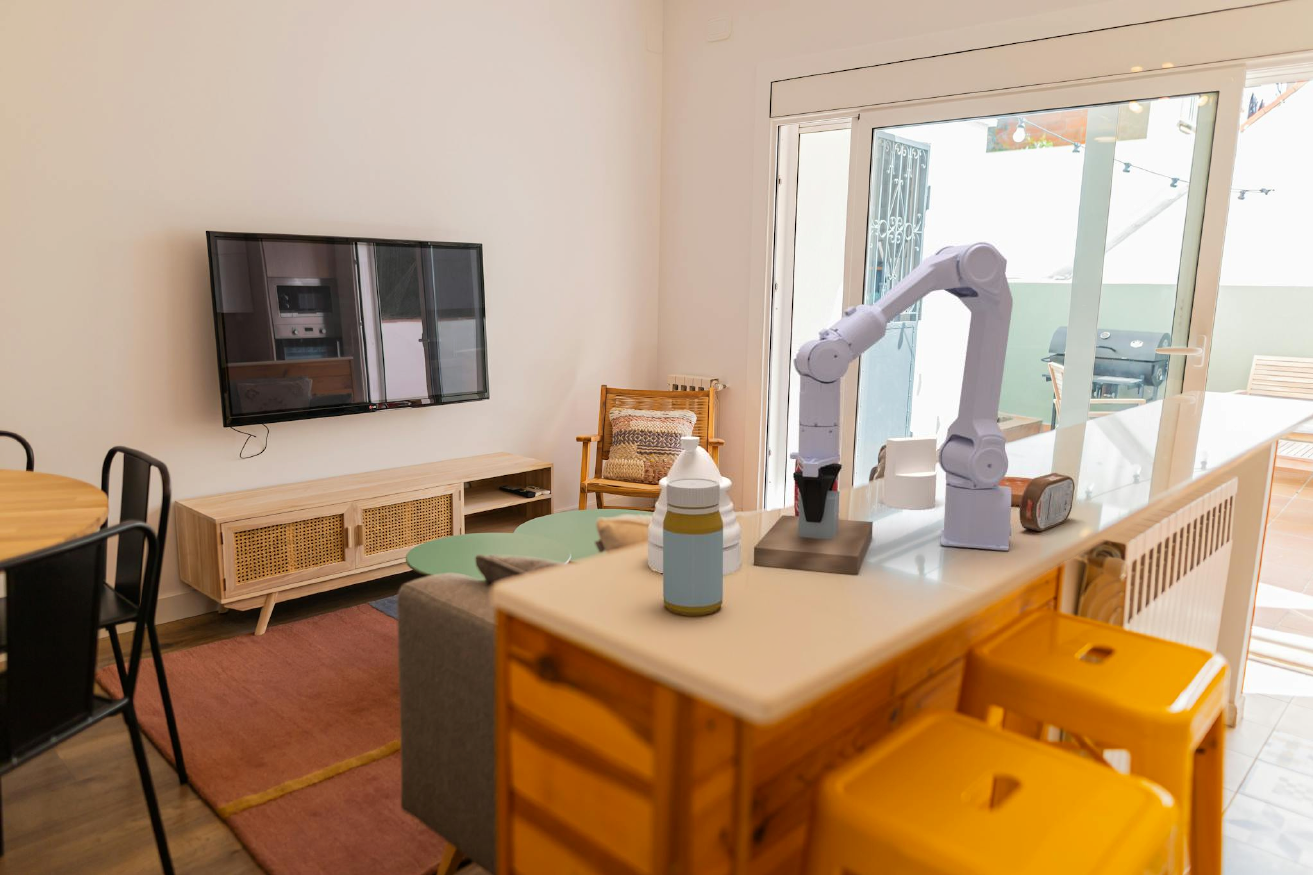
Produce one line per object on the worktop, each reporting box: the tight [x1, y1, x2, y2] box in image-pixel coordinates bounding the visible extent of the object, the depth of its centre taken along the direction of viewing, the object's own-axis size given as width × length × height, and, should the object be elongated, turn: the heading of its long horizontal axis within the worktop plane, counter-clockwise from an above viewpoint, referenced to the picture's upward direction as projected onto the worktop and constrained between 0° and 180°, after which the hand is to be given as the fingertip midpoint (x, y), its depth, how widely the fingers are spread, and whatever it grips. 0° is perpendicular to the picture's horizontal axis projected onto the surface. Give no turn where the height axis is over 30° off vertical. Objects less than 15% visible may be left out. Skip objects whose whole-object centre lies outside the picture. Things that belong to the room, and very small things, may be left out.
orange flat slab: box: [999, 476, 1033, 507], centre depth 161 cm, size 16×16×3 cm
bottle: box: [662, 478, 724, 617], centre depth 102 cm, size 7×7×15 cm
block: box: [798, 490, 840, 540], centre depth 126 cm, size 5×5×6 cm
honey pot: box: [647, 436, 742, 576], centre depth 119 cm, size 13×13×18 cm
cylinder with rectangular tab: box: [882, 435, 938, 511], centre depth 156 cm, size 9×9×12 cm
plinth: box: [753, 514, 874, 576], centre depth 127 cm, size 14×20×2 cm
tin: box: [1018, 472, 1076, 532], centre depth 140 cm, size 15×3×8 cm, turn 133°
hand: (817, 517), depth 126 cm, fingers open, 5 cm apart
